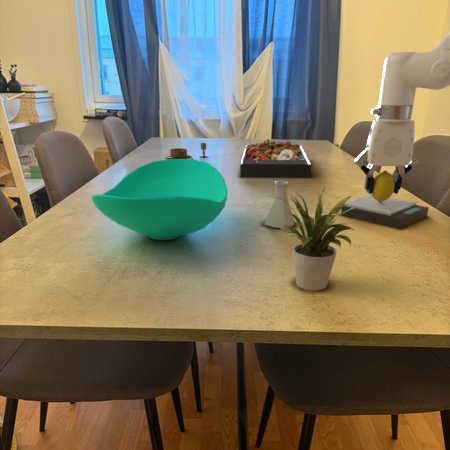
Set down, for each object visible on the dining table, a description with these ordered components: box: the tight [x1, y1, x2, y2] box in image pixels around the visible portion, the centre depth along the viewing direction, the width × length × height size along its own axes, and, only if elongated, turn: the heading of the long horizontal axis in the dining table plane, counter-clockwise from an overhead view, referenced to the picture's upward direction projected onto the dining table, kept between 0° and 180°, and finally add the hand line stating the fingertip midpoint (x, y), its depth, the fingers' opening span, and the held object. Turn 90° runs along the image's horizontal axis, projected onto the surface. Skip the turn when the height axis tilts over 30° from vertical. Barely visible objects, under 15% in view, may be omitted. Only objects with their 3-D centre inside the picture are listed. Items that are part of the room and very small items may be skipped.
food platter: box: [239, 139, 313, 179], centre depth 169 cm, size 45×25×10 cm, turn 175°
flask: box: [263, 180, 295, 229], centre depth 101 cm, size 7×7×10 cm
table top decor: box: [91, 159, 229, 241], centre depth 94 cm, size 40×28×13 cm
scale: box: [340, 194, 429, 230], centre depth 108 cm, size 16×14×3 cm
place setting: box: [164, 142, 208, 160], centre depth 181 cm, size 18×20×6 cm
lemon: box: [371, 170, 395, 203], centre depth 107 cm, size 6×6×8 cm
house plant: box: [269, 187, 357, 292], centre depth 70 cm, size 14×14×16 cm
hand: (381, 191), depth 107 cm, fingers open, 5 cm apart
